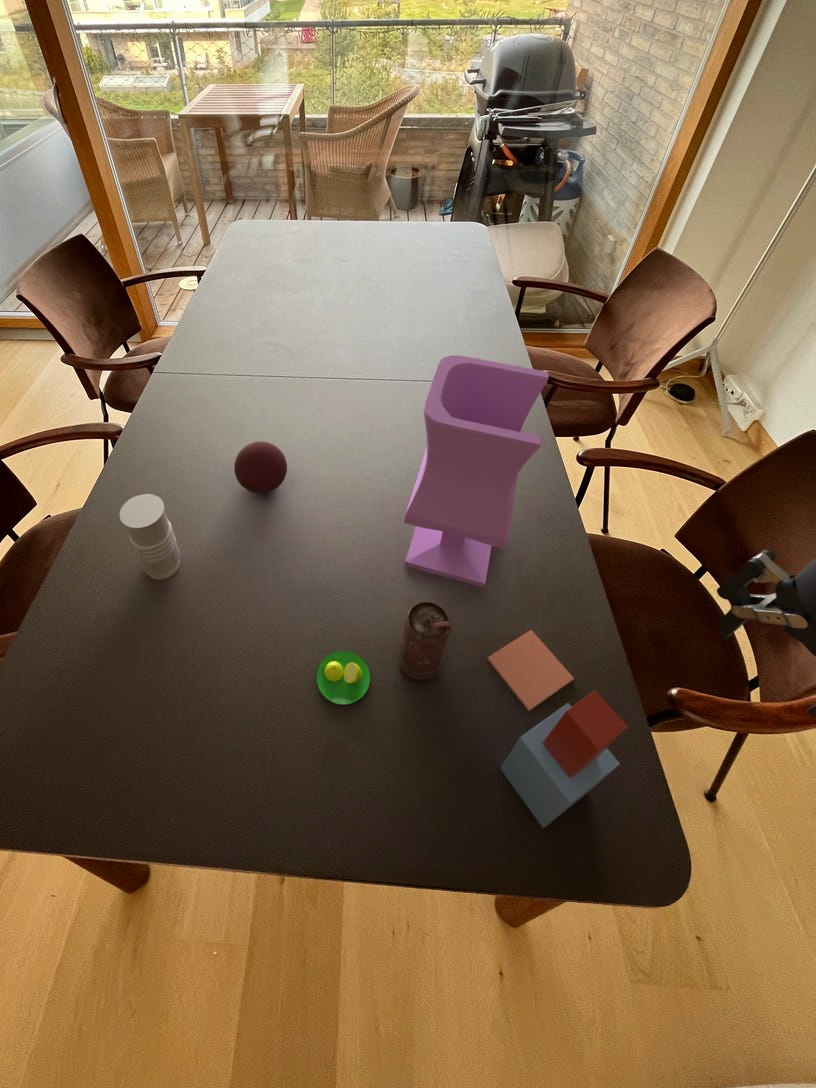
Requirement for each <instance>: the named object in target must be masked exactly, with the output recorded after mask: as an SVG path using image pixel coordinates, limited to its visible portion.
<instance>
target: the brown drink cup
mask: <svg viewBox="0 0 816 1088" xmlns="http://www.w3.org/2000/svg"><path fill="white" fill-rule="evenodd" d="M452 631H453V624H452V623H451V620H450V618H449V616H448V614H447V612H446V611H445V609H443V608H442V606H440V605H439V604H437V603H434V602H430V601H422V602H419V603H416V604H415V605H413V606H412V607H410V608H409V610H408V611H407V612H406V615H405V619H404V623H403V631H402V635H401V641H400V647H399V654H398V659H397V662H398V663H397V664H398V668H399V671H400V673H401V674H402V675H403V677H404V678H405V679H407V680H408V681H409V682H412V683H414V684H425V683H428V682H431V681H432V680H433V679H434V678H435V677H436V676H437V674H438V672H439V670H440V666H441V662H442V658H443V655H444V652H445V650H446V645H447V642H448V639H449V637H450V635H451V634H452Z"/></svg>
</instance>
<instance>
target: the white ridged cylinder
mask: <svg viewBox="0 0 816 1088" xmlns="http://www.w3.org/2000/svg"><path fill="white" fill-rule="evenodd" d="M165 510H166V509H165V504H164V501H163V500H162V498H160V496H157V495H156V494H151V493H143V494H139V495H136V496H133V497H131V498H129V499H128V500H127V501H126V502H125V503H124V504H123V505H122V507H121V508H120V510H119V511H120V512H119V519H120V522H121V524H122V525H123V526H125V529H126V531H127V533H128V542H129V543H130V546H131V548H132V551H133V553H134V556H135V557H136V560H138V562H139V565H140V567H141V569H142V571H144V572H145V573H146V574H147V576H149V578H151V579H154V580H165V579H168V578H170V577H172V576H173V575H175V574H176V573H177V571H178V570H179V568H180V565H181V551H180V547H179V546H178V543H177V538H176V535H175V532H174V529H173V525H172V524H171V522H170V520H169V519H168V518H167V514H166V511H165Z"/></svg>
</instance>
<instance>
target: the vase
mask: <svg viewBox="0 0 816 1088" xmlns="http://www.w3.org/2000/svg"><path fill="white" fill-rule="evenodd" d="M549 377H550V372H549V371H546V370H539V369H534V368H529V367H525V366H524V367H523V366H519V365H513V364H508V363H502V362H497V361H492V360H487V359H481V358H476V357H472V356H471V357H470V356H464V355H455V354H454V355H448V356H445V357H443V358H441V359H440V360H439V361H438V364H437V367H436V370H435V372H434V375H433V378H432V381H431V384H430V386H429V390H428V392H427V396H426V398H425V402H424V405H423V418H424V424H425V433H426V434H425V435H426V447H425V451H424V454H423V457H422V460H421V463H420V467H419V470H418V474H417V476H416V480H415V483H414V485H413V490H412V492H411V495H410V498H409V501H408V504H407V508H406V511H405V513H404V520H403V524H407V525H410V526H414V530H413V535H412V537H411V540H410V545H409V548H408V551H407V556H406V558H405V561H404V566H405V567H409V568H412V569H416V570H419V571H423V572H427V573H430V574H434V575H437V576H441V577H445V578H449V579H452V580H455V581H460V582H463V583H467V584H470V585H474V586H477V587H481V588H485V585H486V582H487V581H486V580H487V575H488V569H489V563H490V557H491V552H492V547H496V548H500V549H504V550H506V548H507V544H508V542H509V537H510V529H511V522H512V516H513V515H512V514H513V508H514V501H515V494H516V489H517V482H518V476H519V473H520V471H521V470H522V468H523V467H524V466H525V465H526V463H527V462H528V461H529V460H530V459H531V457H532V456H533V455H534V454H535V453H536V452H537V451H538V450H539V449H540V447H541V446H542V438H543V437H542V436H541V435H536V434H532V433H527V432H521V431H522V428H523V427H524V424H525V422H526V419H527V417H528V416H529V413H530V412H531V410H532V408H533V406H534V404H535V403H536V401H537V399H538V398H539V396H540V395H541V392H542V391H543V390H544V388H545V386H546V385H547V383H548V380H549Z"/></svg>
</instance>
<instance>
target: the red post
mask: <svg viewBox="0 0 816 1088" xmlns="http://www.w3.org/2000/svg"><path fill="white" fill-rule="evenodd" d="M627 729H628V725H627V724H626V723H625V721H624V720H623V719H622V718H621V717H620V716H619V715H618V713H616V711H615V710H614V709H612V707H611V706H610V705H609V704H608V703H607V702H606V700H605V699H604V698H603V697H602V696H601V695H600V694H599V693H598V691H597V690H593V691H591V693H589V694H587V695H586V696H585V697H584V698H582V699H581V700H580V701H578V702H577V703H575V704H574V705H572V706H571V708H570V709H568V710H567V711H566V712H565V713H564V715H563V716H562V717H561V719H560V720H559V721H558V723H557V724H556V725H555V727H554V728H553V729H552V731H551V732H550V733H549V735H548V736H547V737H546V739H545V740H544V741H543V744H544V746H545V747H546V748H547V749H548V751H549V752H550V753H551V755H552V756H553V757H554V758H555V760H556V761H557V762H558V764H559V765H560V766H561V767H562V769H563V770H564V771H565V773H566V774H567V775H568V776H569V778H572V777H573V776H574V775H576V774H577V773H578V772H579V771H581V770H582V769H583V768H585V767H586V766H587V765H588V764H590V763H591V762H592V761H593V760H595V759H596V758H597V757H598V756H599V755H600V754H601V753H602V752H603V751H604V750H605V749H606V748H607V749H608V748H609V747H610V745H612V743H614V741H616V739H618V737H620V736H621V735H622V733H624V732H625V731H626V730H627Z"/></svg>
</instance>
